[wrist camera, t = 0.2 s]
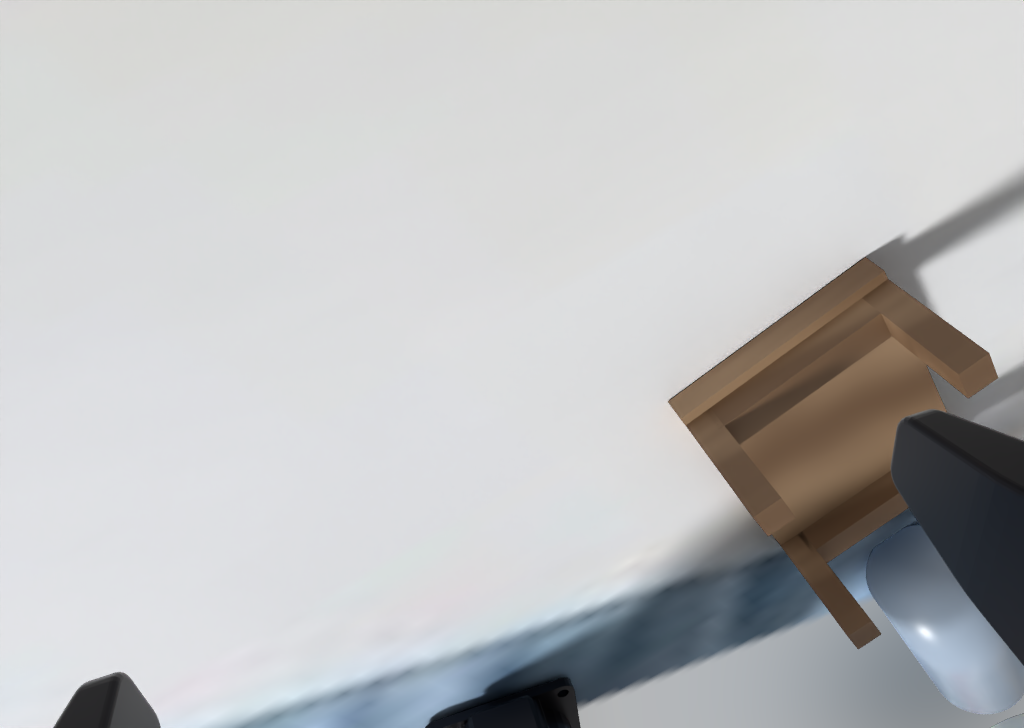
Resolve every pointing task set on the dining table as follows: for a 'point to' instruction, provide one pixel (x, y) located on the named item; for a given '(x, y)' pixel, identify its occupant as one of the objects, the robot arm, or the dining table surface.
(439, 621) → the dining table surface
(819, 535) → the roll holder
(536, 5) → the dining table surface
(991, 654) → the cylinder
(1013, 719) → the cylindrical container
